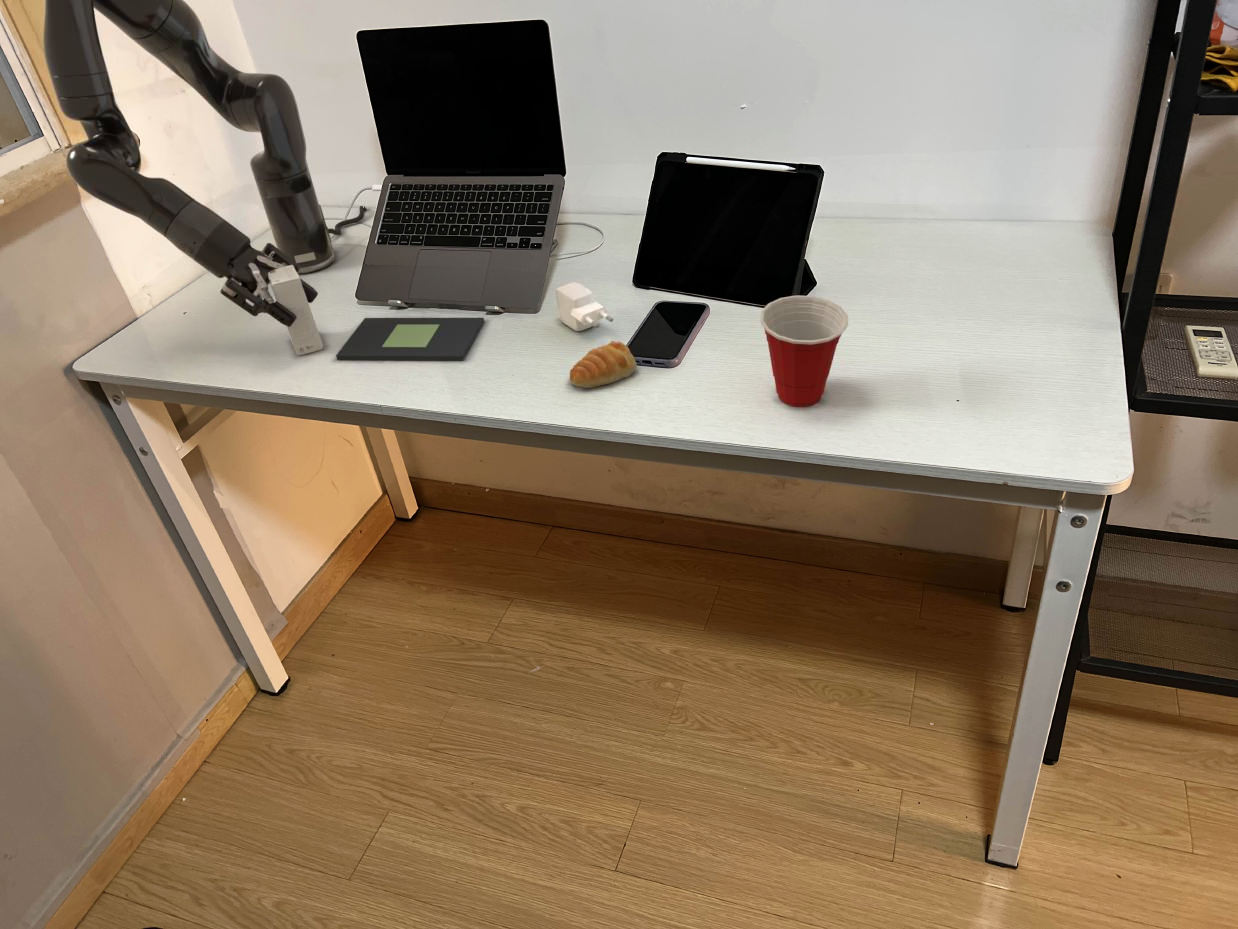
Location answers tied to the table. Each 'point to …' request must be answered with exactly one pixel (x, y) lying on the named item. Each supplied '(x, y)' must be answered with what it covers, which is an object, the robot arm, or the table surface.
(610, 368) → the pastry
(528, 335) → the table surface
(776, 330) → the plastic cup
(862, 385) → the table surface
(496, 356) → the table surface
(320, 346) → the cosmetic box
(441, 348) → the mat
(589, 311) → the power adapter
